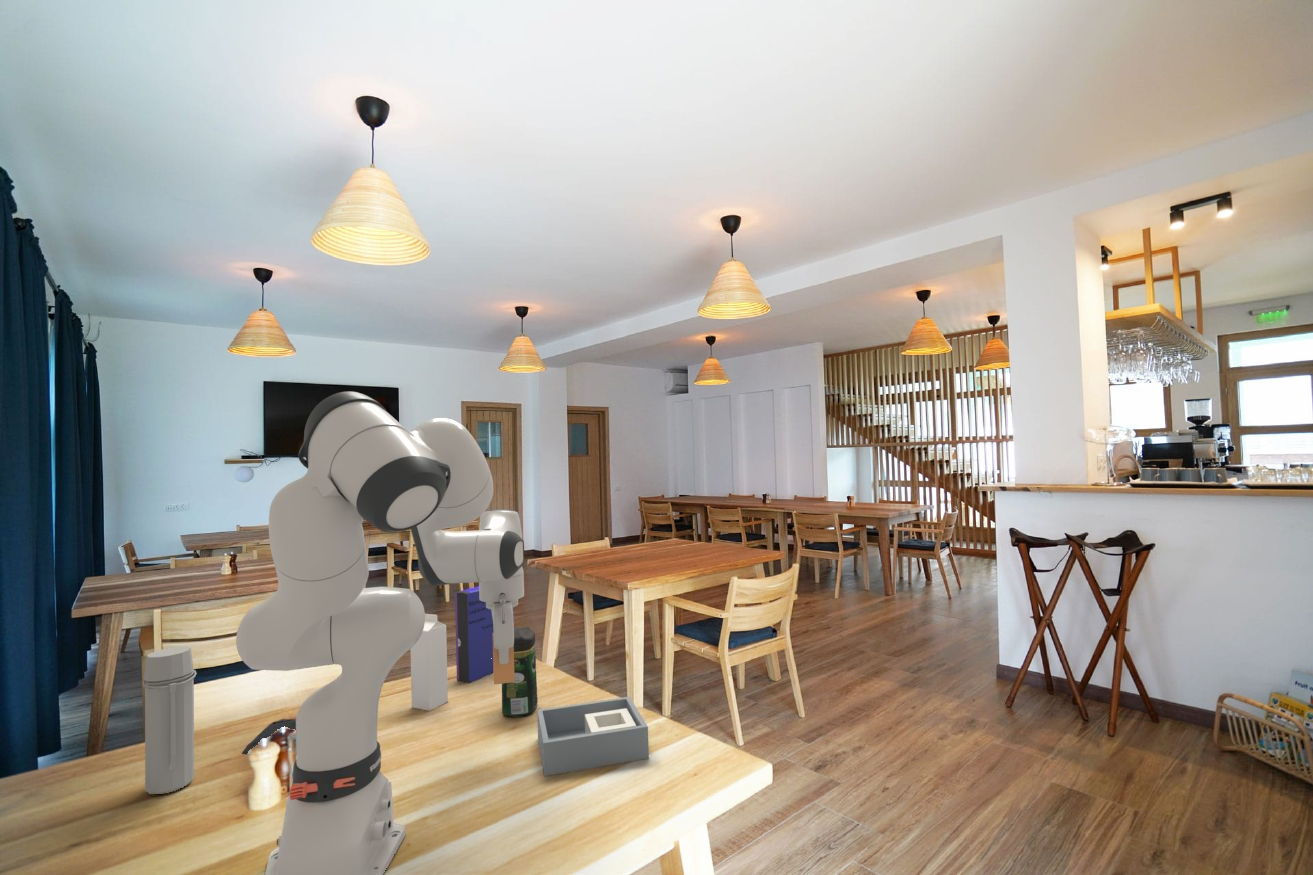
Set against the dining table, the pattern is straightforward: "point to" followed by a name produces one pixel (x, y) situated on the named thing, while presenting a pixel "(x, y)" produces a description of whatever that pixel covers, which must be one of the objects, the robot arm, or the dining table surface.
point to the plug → (503, 667)
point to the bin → (588, 737)
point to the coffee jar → (521, 676)
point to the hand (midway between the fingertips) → (503, 658)
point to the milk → (429, 666)
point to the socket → (608, 721)
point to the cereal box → (473, 636)
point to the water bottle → (169, 720)
